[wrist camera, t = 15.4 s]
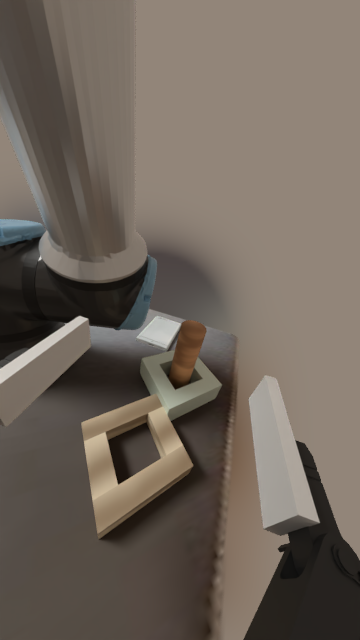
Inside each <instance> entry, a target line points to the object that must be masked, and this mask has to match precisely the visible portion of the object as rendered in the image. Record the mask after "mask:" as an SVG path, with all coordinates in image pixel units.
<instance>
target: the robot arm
mask: <svg viewBox="0 0 360 640" xmlns="http://www.w3.org/2000/svg"><path fill="white" fill-rule="evenodd" d="M135 11H136V0H0V119H1V121H2V124H3V126H4V128H5V131H6V133H7V136H8V138H9V140H10V143H11V145H12V147H13V150H14V152H15V155H16V157H17V159H18V162H19V164H20V167H21V169H22V171H23V174H24V176H25V178H26V181H27V183H28V185H29V188H30V190H31V192H32V195H33V197H34V200H35V202H36V205H37V207H38V209H39V212H40V214H41V216H42V219H43V221H44V224H45V226H46V228H47V231H46V230H45V227H44V226H43V225H42V224H40V223H36V222H32V221H25V220H9V219H0V425H1V426H4V427H7V426H8V425H9V424H10V423H11V422H12V421H14V420H15V419H16V418H17V417H18V416H19V415H20V414H21V413H22V412H23V411H24V410H25V409H26V408H27V407H28V406H29V405H30V404H31V403H32V402H33V401H34V400H36V399H37V398H38V397H39V396H40V395H41V394H42V393H43V392H44V391H45V390H46V389H47V388H48V387H49V386H50V385H51V384H52V383H53V382H54V381H55V380H56V379H57V378H59V377H60V376H61V375H62V374H63V373H64V372H65V371H66V370H67V369H68V368H69V367H70V366H71V365H72V364H73V363H74V362H75V361H76V360H77V359H78V358H79V357H81V356H82V355H83V354H84V353H85V352H86V351H87V350H88V349H89V348H90V347H91V340H90V330H89V326H97V327H106V328H114V329H115V330H121V329H127V330H136V329H138V328H140V327H141V326H142V325H143V324H144V322H145V319H146V316H147V313H148V310H149V306H150V300H151V299H150V298H151V296H152V292H153V288H154V284H155V278H156V271H157V261H156V259H154V258H152V257H151V256H149V255H147V247H146V243H145V241H144V239H143V238H142V237H141V236H140V235H139V234H138V233H137V232H136V231H135V46H136V45H135V44H136V42H135V41H136V40H135V39H136V38H135V37H136V36H135V35H136V25H135V24H136V21H135V20H136V12H135ZM64 323H68V324H66V325H65V324H64ZM249 407H250V415H251V425H252V433H253V442H254V450H255V460H256V468H257V477H258V486H259V495H260V504H261V513H262V521H263V529H265V530H267V531H270V532H272V533H275V534H277V535H280V536H281V535H285V534H288V536H289V541H290V543H288V544H284V545H281V546H280V547H279V548H278V550H279V552H283V551H285V552H284V554H283V556H282V558H281V560H280V562H279V564H278V567H277V569H276V571H275V573H274V575H273V578H272V580H271V582H270V584H269V586H268V588H267V590H266V592H265V595H264V597H263V599H262V601H261V603H260V605H259V607H258V610H257V612H256V614H255V616H254V618H253V621H252V623H251V625H250V627H249V629H248V631H247V633H246V635H245V638H244V640H360V560H359V559H358V557H357V555H356V553H355V552H354V551H353V549H352V548H351V547H350V545H349V544H348V543H347V542H346V541H345V540H344V539H343V538H342V536H341V534H340V532H339V529H338V527H337V524H336V521H335V518H334V516H333V513H332V510H331V507H330V505H329V502H328V499H327V496H326V493H325V490H324V487H323V485H322V483H321V479H320V476H319V473H318V472H317V467H316V465H315V462H314V459H313V456H312V455H311V453H310V451H309V450H308V448H307V447H306V445H305V444H304V443H301V442H299V441H296V440H295V438H294V435H293V432H292V428H291V425H290V422H289V418H288V415H287V412H286V409H285V405H284V402H283V398H282V395H281V392H280V389H279V385H278V382H277V379H276V378H273V377H270V376H267V375H265V376H264V377H263V379H262V380H261V382H260V383H259V385H258V386H257V388H256V389H255V390H254V392H253V393H252V395H251V396H250V398H249Z"/></svg>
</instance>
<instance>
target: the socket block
mask: <svg viewBox="0 0 360 640" xmlns="http://www.w3.org/2000/svg"><path fill="white" fill-rule="evenodd" d="M174 353H175V350H172V351H168V352H165V353H161V354H157V355H153V356H149V357H145V358H142V359H141V368H140V374H141V376H142V378H143V380H144V382H145V384H146V386H147V389H148V391H149V393H150V395H154V394H157V396H158V398H159V400H160V402H161V404H162V406H163V408H164V410H165V412H166V413H167V415H168V417H169V419H170V421H172V420H174V419H176V418H178V417H180V416H182V415H184V414H186V413H188V412H190V411H192V410H194V409H195V408H197V407H199V406H201V405H203V404H205V403H207V402H209V401H211V400H213V399H215V398H216V396H217V394H218V392H219V390H220V388H221V386H222V384H221V383H220V382H219V381H218V380H217V378H216V377H215V376H214V375H213V374H212V373H211V371H210V370H209V369H208V368H207V367H206V366H205V365H204V363H203V362H202V361H201V360H200V359H199V358H198V357H197V360H196V363H195V366H194V369H193V372H192V375H191V378H190V382H191V384H189V385H186V386H184V387H181V388H179V389H176V390H175V389H174V387H173V386H172V384H171V383H170V381H169V379H168V378H167V376H166V375H168V374H169V373H170V369H171V365H172V361H173V357H174Z"/></svg>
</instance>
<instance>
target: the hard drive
mask: <svg viewBox="0 0 360 640" xmlns="http://www.w3.org/2000/svg"><path fill="white" fill-rule="evenodd" d="M180 328H181V324H180V323H178V322H174V321H171V320H168V319H165V318H162V317H159V316H156V317H155V318H154V319H153V320H152V321H151V323H150V324H149V325H148V326H147V327H146V328H145V329H144V330H143V331H142V332H141V333H140V334H139V336H138V337H137V338H136V341H138V342H141V343H143V344H146V345H149V346H152V347H154V348H157V349H160V350H162V351H165V352H167V350H168V348H169V347H170V345H171V343H172V342H173V340H174V338H175V336H176V335H177V333H178V331H179V330H180Z"/></svg>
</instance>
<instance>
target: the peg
mask: <svg viewBox="0 0 360 640" xmlns="http://www.w3.org/2000/svg"><path fill="white" fill-rule="evenodd" d="M205 334H206V328H205V326H204V325H202V324H201V323H198V322H196V321H191V320H188V321H184V322H183V323H182V324H181V328H180V332H179V336H178V340H177V344H176V348H175V353H174V357H173V361H172V365H171V369H170V373H169V377H168V379H169V381H170V383H171V384H172V386H173V387H174V389H175V390H176V389H179V388H181V387H184V386H186V385H188V384H189V381H190V378H191V375H192V372H193V369H194V366H195V363H196V360H197V357H198V354H199V352H200V349H201V346H202V343H203V340H204V337H205Z"/></svg>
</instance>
